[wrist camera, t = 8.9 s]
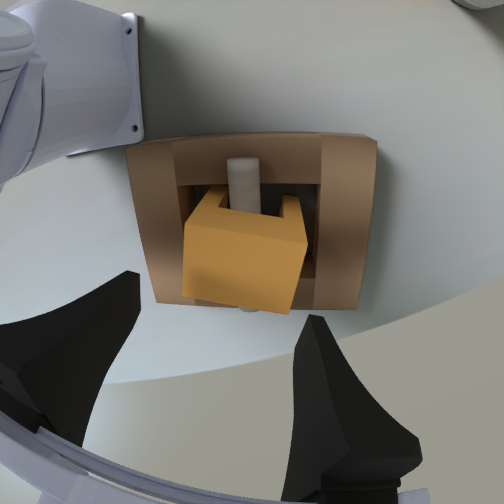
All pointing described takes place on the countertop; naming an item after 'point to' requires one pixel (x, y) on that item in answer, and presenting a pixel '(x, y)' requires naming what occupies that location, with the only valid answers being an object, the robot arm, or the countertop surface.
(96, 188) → the countertop surface
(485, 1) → the travel mug
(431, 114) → the countertop surface
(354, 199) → the square wooden frame
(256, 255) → the orange notched block
